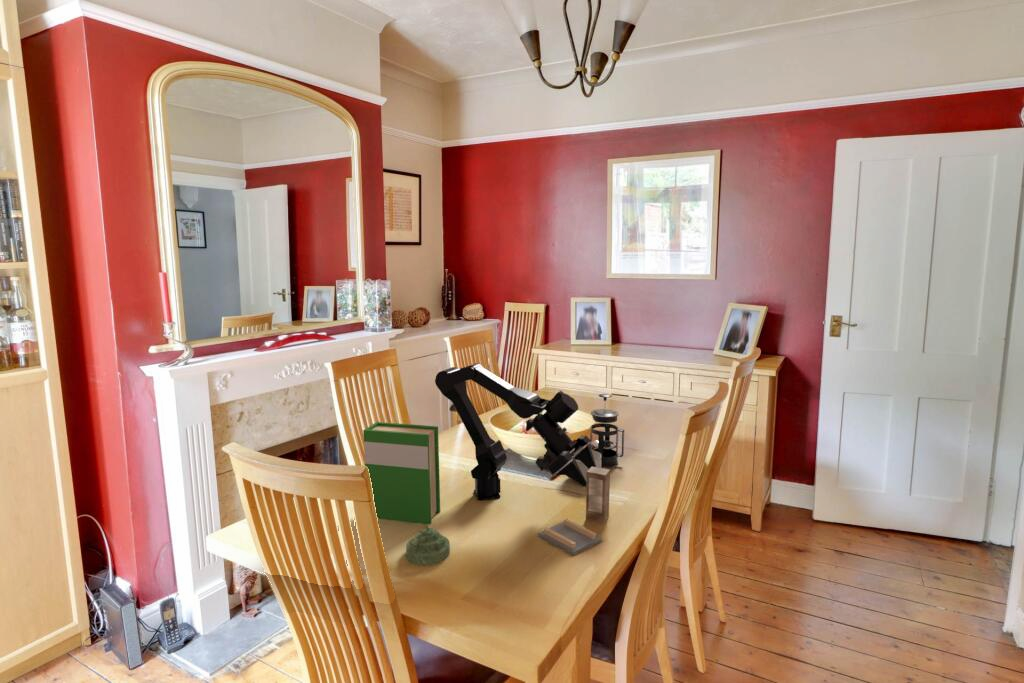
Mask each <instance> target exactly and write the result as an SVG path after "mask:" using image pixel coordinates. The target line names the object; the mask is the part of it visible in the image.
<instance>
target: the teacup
mask: <svg viewBox="0 0 1024 683" xmlns="http://www.w3.org/2000/svg"><path fill="white" fill-rule="evenodd" d="M591 450H592V454H593V457H594V461H595V464H596V467H597V468H602V467H601V457H602V455H601V454H600V453H599V452H597V451H593V448H592V449H591ZM574 457H575V455H574V456H572V459H571V461H572V460H573V458H574ZM575 460H576V459H575ZM576 462H577V464H578V466H579V468H580V470H581V472H582V474H583V476H584V478H585V481H586V483H587V471H588V470H589V469H588V468H587V467H586V466H585V465H584V464H583V463H582V462H581V461H580V460H576Z"/></svg>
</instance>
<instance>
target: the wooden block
mask: <svg viewBox="0 0 1024 683" xmlns="http://www.w3.org/2000/svg"><path fill="white" fill-rule="evenodd" d="M610 479H611V469H608V468H603V467H601V468H597V467H591V468H590V469H589V470H588V471H587V485H586V486H585V487H586V489H585V490H586V493H585V494H586V495H585V496H586V497H585V499H586V500H585V502H586V503H585V519H586V520H590V521H595V522H599V523H606V521H607V519H608V518H609V516H610V486H611V485H610V482H611V480H610Z"/></svg>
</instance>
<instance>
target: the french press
mask: <svg viewBox="0 0 1024 683" xmlns="http://www.w3.org/2000/svg"><path fill="white" fill-rule="evenodd" d="M598 397H599V398H603V401H604V408H600V409H599V408H598V409H593V410H591V411H590V414H591V416H592V419H593V421H594V422H596V423H594V424H592V425H591V426H590V438H589V439H590V440H591V441H590V442H589V444H591V449H592V450H593V451H597V452H599V453H600V454H601V455H602V457H601V468H603V467H608V468H614V467H616V466H618V464H619V460H618V457H620V458H622V457H624V452H625V451H624V450H625V429H623V428H619V427H618V426H617V425H616V424H613V423H615V422H617V421H618V416H619V415H620V413H619V412H618V411H616V410H613V409H606V403H607V398H611V397H612V394H611V393H610V394H609V393H599V394H598ZM596 428H603V431H601V430H597V429H596ZM611 429H613V430H611ZM619 432H620V433H622V435H621V453H619V451H618V449H619ZM593 434H594V435H596V436H597V438H598V439H596V440H593ZM615 435H616V437H615V438H616V439H615V441H613V440H610V439H611V437H610V436H615ZM615 465H616V466H615ZM613 466H614V467H613Z"/></svg>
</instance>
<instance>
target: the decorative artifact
mask: <svg viewBox="0 0 1024 683" xmlns="http://www.w3.org/2000/svg"><path fill="white" fill-rule="evenodd" d="M437 531H438V530H437V529H434V528H432V527H429V526H428V525H427V526H426V528H423V529H420V530H419V532H418V533H417V534H415V535H414V536H413V537H412V538H410V539H409V540H408V542H407V543H406V545H405V549H406V551H405V553H406V559H407V560H408V561H409V563H411V564H413V565H418V566H421V565H422V567H424V566H426V567H427V565H429V566H434V565H433V564H435V565H437V564H436V563H438V564H440V562H441V561H443V560H444V561H446V560H447V559H448V558H449V557H450V555H451V553H450V552H451V550H450V549H451V548H450V547H451V545H450V540H449V539H448V537H446V536H444V535H442V534H441V533H440V532H439V531H438V532H437ZM449 554H450V555H449ZM448 556H449V557H448ZM447 557H448V558H447ZM446 558H447V559H446ZM445 559H446V560H445ZM444 561H443V562H444ZM441 563H442V562H441Z"/></svg>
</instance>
